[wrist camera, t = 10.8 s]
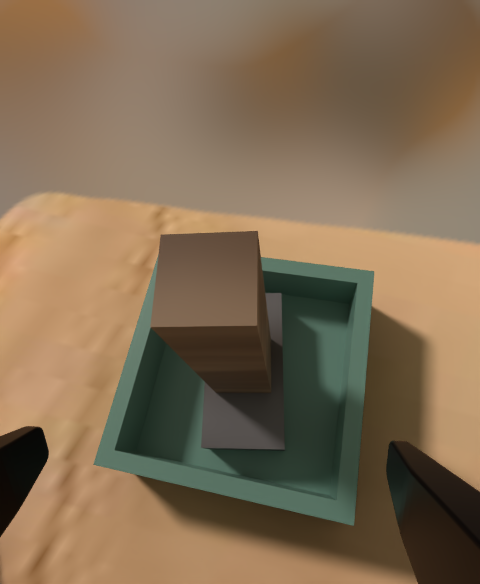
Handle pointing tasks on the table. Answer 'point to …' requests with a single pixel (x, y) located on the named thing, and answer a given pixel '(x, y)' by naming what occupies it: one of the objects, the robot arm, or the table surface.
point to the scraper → (224, 334)
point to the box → (297, 401)
